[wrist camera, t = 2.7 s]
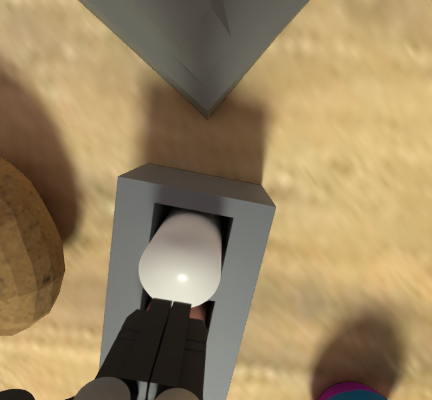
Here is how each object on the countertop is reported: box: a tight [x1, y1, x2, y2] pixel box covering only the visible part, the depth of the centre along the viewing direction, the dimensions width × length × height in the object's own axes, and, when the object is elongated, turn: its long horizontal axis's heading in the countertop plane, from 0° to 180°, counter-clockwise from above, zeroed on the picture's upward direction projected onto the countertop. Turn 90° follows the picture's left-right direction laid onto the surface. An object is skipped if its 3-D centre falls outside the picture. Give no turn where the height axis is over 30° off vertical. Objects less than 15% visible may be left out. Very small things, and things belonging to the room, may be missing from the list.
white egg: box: [139, 207, 222, 307], centre depth 16 cm, size 4×4×6 cm
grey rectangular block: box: [99, 163, 276, 400], centre depth 20 cm, size 18×9×6 cm, turn 169°
